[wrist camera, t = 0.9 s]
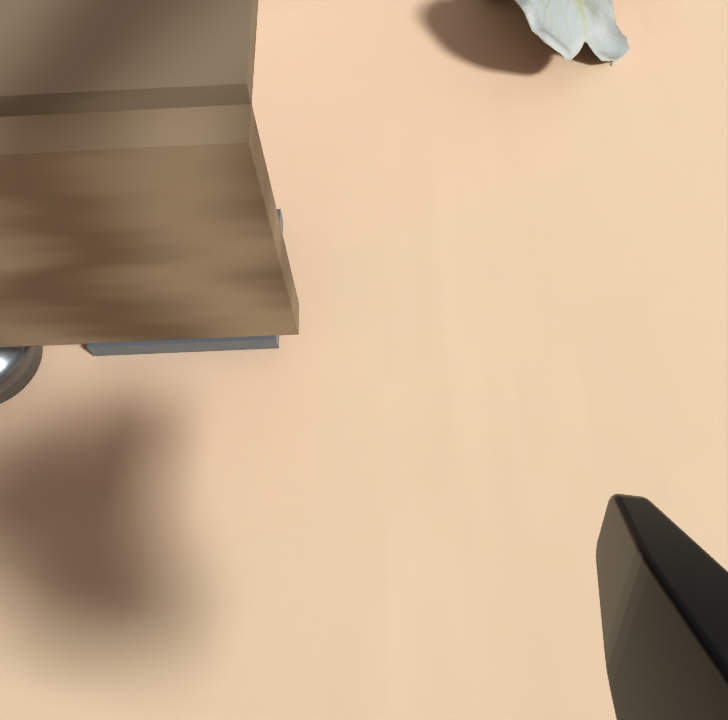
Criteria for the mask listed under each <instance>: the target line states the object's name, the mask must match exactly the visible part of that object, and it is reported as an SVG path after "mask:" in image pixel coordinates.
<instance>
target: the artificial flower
mask: <svg viewBox="0 0 728 720" xmlns="http://www.w3.org/2000/svg"><path fill="white" fill-rule="evenodd" d="M515 1H516V3H517V4H518V5H519V6H520V7H521V8H522V10H523V12H524V14H525V17H526V19H527V21H528V23H529V25H530V27H531V30H532V31H533V32H534V33H535V34H536V35H537V36H538V37H539V38H540V39H541V40H542V41H543V42H544V43H546V44H547V45H549V46H550V47H552V48H553V49H554V50H555V51H557V52H558V53H560V54H561V55H562V56H563V57H564V59H565V61H570V60H572V59H573V58H574V57H575V56H576V55H577V54H578V52H579V51H580V50H581V48H582V46H583V44H584V42H587V43H588V45H589V47H590V48H591V50H592V51H593V53H594V54H595V55H596V56H597V57H598V58H599V59H600V60H601V61H608V62H609V61H613V62H614V61H616V60H618V59H620V58H621V57H623V56H624V54H626V53H627V51H628V50H629V45H628V43H627V37H625V36H624V35H623V34H622V32H621V31H620V29H619V28H618V26H617V25H616V19H615V17H614V14H613V10H614V8H613V4H612V1H611V0H515ZM618 62H619V61H617V62H614V63H612V65H615V64H616V63H618Z"/></svg>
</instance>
